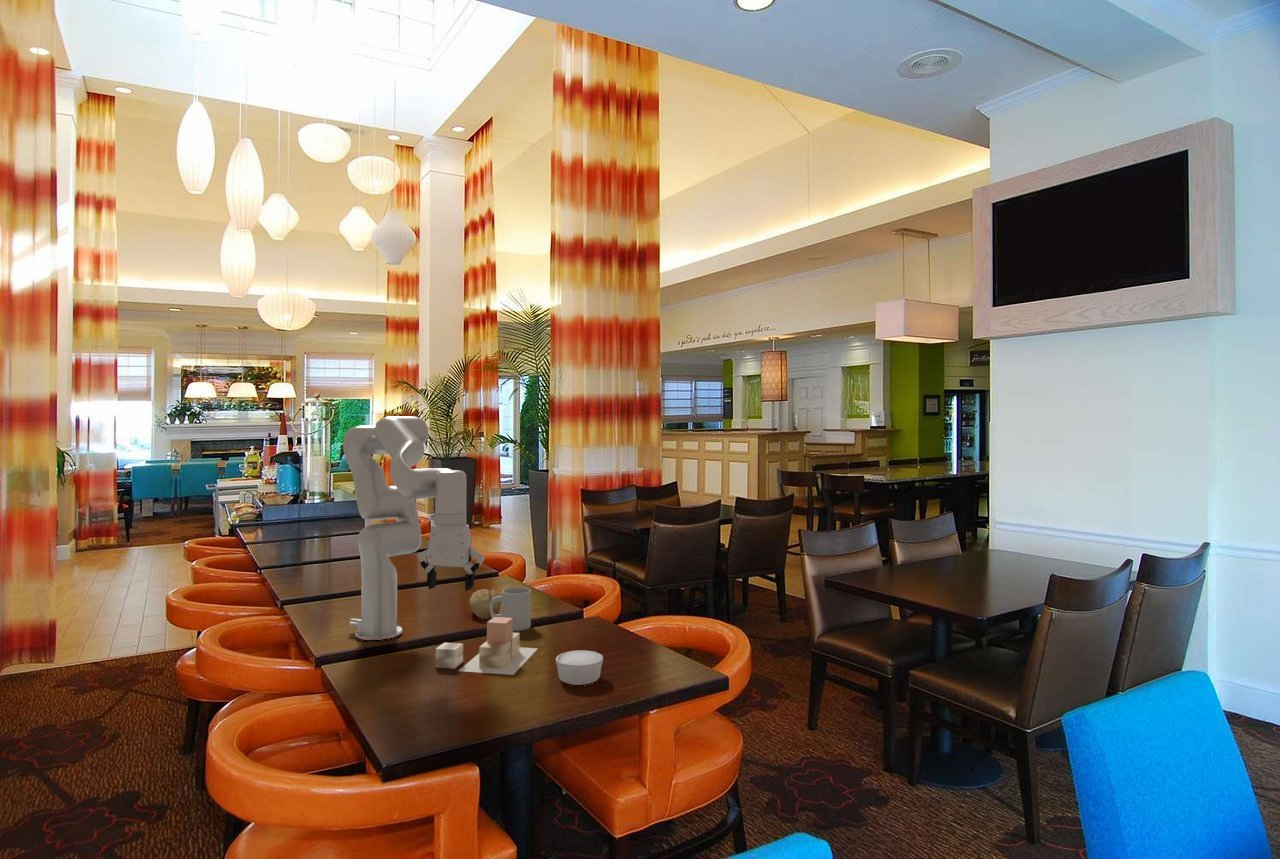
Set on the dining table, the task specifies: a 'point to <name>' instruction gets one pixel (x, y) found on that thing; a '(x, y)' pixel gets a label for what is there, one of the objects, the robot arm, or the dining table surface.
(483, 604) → the bread roll
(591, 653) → the ramekin
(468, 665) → the felt mat
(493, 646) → the maple block
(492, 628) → the terracotta cube
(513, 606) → the mug
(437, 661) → the birch cube
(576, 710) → the dining table surface
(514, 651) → the maple block
